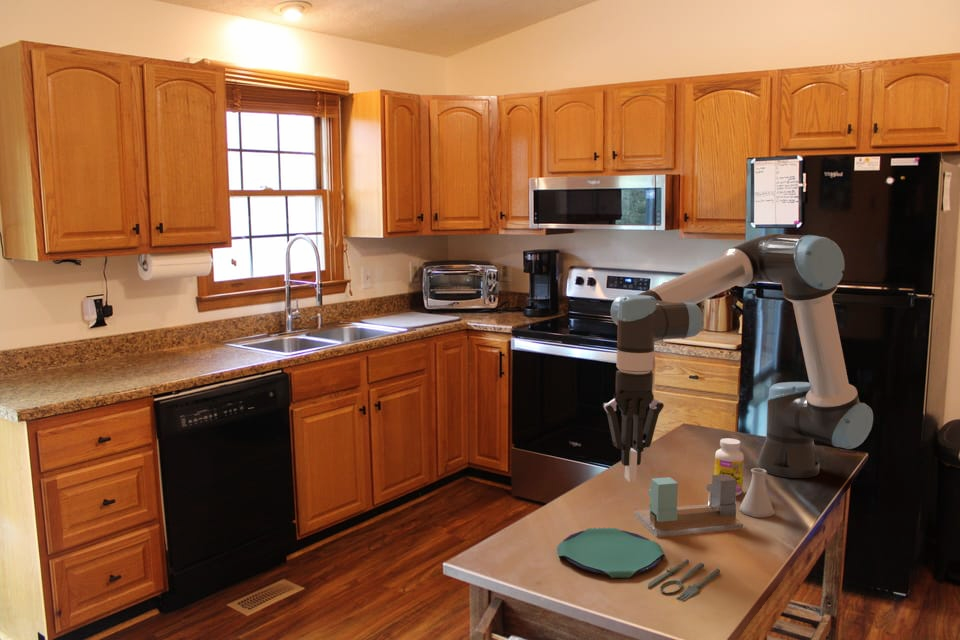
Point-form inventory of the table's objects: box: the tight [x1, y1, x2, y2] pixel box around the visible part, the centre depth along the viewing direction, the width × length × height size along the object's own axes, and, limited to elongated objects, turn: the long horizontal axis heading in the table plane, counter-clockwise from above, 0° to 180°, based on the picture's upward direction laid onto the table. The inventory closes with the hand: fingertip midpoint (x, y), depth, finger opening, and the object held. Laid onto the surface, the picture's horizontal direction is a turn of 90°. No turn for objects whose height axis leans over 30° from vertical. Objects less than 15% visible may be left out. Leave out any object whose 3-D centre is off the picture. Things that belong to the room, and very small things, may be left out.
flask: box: [739, 467, 775, 518], centre depth 183 cm, size 7×7×10 cm
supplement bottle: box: [713, 437, 745, 496], centre depth 195 cm, size 7×7×13 cm
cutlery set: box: [556, 527, 721, 602], centre depth 158 cm, size 20×30×2 cm, turn 47°
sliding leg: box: [647, 476, 679, 522], centre depth 175 cm, size 4×9×9 cm, turn 12°
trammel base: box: [633, 474, 744, 538], centre depth 177 cm, size 20×12×11 cm, turn 102°
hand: (630, 479), depth 171 cm, fingers closed
